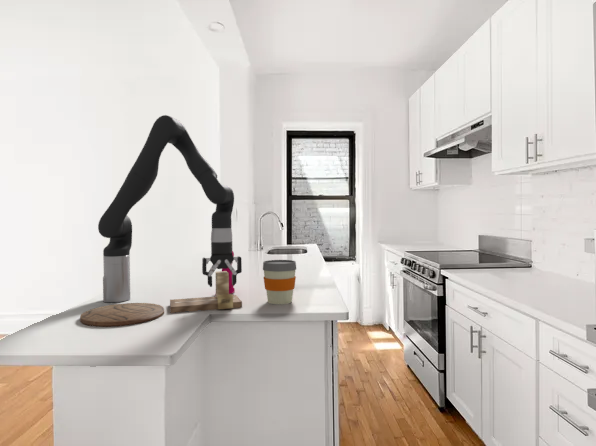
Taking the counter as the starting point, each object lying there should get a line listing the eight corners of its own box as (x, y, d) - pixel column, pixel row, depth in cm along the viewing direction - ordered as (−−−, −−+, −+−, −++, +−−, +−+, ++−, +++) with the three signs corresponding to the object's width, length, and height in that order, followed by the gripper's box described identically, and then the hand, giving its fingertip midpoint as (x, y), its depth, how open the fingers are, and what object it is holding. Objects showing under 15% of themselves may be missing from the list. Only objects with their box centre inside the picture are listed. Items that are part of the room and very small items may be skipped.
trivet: (115, 332, 116) (115, 326, 116) (62, 321, 129) (62, 315, 129) (180, 313, 138) (180, 307, 138) (130, 305, 150) (130, 300, 150)
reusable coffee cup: (292, 306, 146) (292, 264, 146) (258, 304, 148) (258, 263, 148) (299, 298, 158) (299, 260, 158) (268, 297, 161) (267, 259, 160)
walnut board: (170, 312, 137) (170, 306, 137) (170, 305, 149) (170, 299, 149) (242, 307, 145) (241, 301, 145) (236, 300, 156) (236, 294, 156)
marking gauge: (218, 309, 140) (218, 276, 140) (213, 301, 153) (213, 270, 152) (233, 308, 141) (232, 275, 141) (227, 300, 154) (226, 270, 154)
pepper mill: (234, 294, 167) (233, 245, 167) (216, 294, 168) (215, 245, 167) (237, 290, 175) (236, 244, 174) (220, 290, 175) (219, 244, 174)
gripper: (202, 241, 142) (203, 289, 143) (243, 240, 147) (243, 286, 147) (200, 240, 149) (201, 285, 150) (239, 239, 154) (240, 282, 154)
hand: (222, 285), depth 148 cm, fingers open, 7 cm apart
